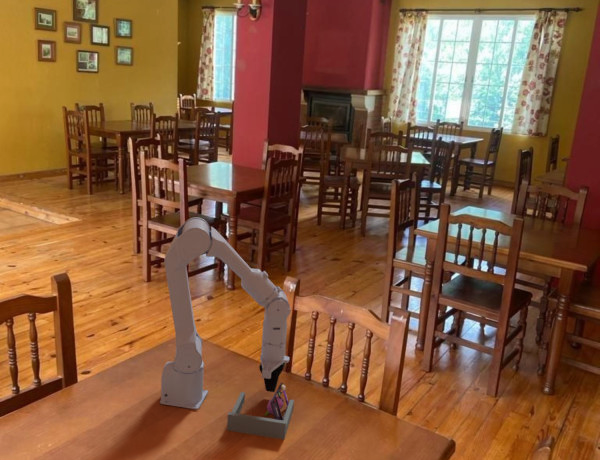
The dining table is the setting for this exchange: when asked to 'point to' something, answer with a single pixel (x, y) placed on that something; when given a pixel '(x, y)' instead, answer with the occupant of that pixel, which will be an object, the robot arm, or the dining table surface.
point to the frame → (258, 421)
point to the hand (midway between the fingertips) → (270, 390)
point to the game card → (277, 403)
